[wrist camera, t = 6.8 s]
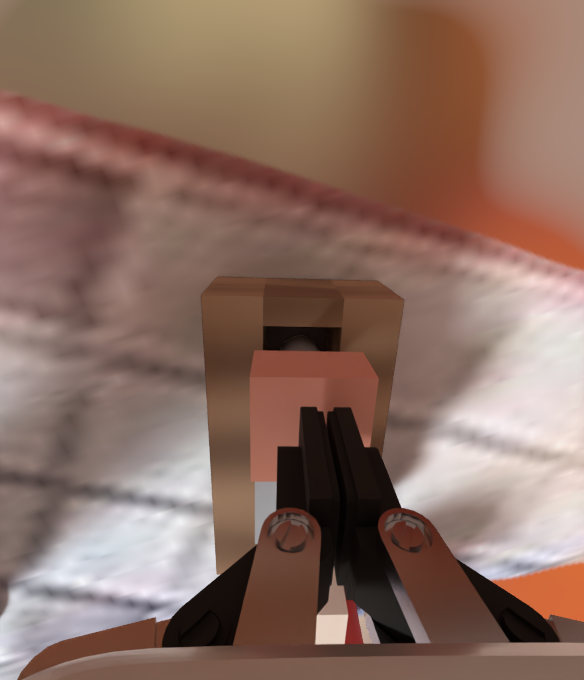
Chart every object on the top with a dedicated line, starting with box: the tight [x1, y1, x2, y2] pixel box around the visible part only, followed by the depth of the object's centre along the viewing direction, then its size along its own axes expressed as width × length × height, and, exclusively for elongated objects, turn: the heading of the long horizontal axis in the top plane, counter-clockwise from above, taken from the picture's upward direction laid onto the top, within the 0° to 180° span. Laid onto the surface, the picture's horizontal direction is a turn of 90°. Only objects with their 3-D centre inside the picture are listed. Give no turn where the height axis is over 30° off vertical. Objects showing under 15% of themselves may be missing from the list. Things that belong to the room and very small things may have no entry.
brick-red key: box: [250, 336, 379, 482], centre depth 16 cm, size 4×4×7 cm
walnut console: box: [201, 277, 404, 574], centre depth 23 cm, size 19×10×5 cm, turn 178°
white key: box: [315, 569, 348, 644], centre depth 20 cm, size 4×4×7 cm
